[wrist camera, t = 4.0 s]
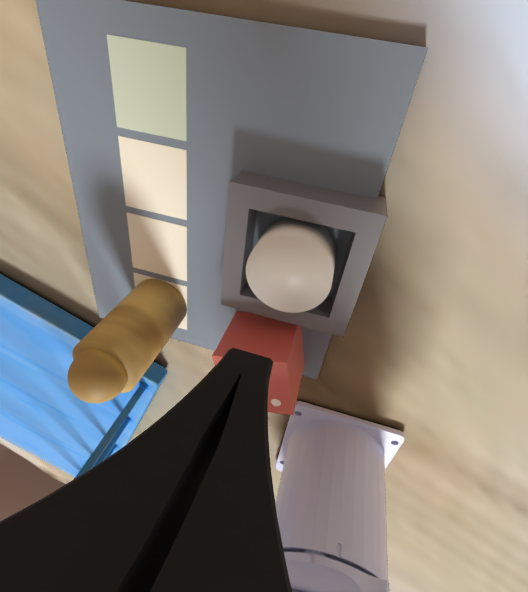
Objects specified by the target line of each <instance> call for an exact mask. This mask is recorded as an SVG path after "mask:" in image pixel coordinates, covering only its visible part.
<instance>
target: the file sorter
mask: <svg viewBox="0 0 528 592" xmlns="http://www.w3.org/2000/svg"><path fill="white" fill-rule="evenodd" d="M93 328H94V327H92V326H90V325H89V324H87V323H85V322H83V321H82V320H80V319H78V318H77V317H75V316H73V315H71V314H70V313H68V312H66V311H64V310H63V309H61V308H59V307H57V306H56V305H54V304H52V303H50V302H49V301H47V300H45V299H43V298H42V297H40V296H38V295H36V294H35V293H33V292H31V291H29V290H28V289H26V288H24V287H22V286H21V285H19V284H17V283H15V282H14V281H12V280H10V279H8V278H7V277H5V276H3V275H2V274H0V437H1V438H3V439H5V440H6V441H8V442H10V443H12V444H14V445H16V446H18V447H19V448H21V449H23V450H25V451H27V452H29V453H31V454H33V455H34V456H36V457H38V458H40V459H42V460H44V461H46V462H48V463H49V464H51V465H53V466H55V467H57V468H59V469H61V470H63V471H64V472H66V473H68V474H70V475H72V476H74V477H75V478H74V479H76V478H77V477H79V476H81V475H82V474H84V473H85V472H87V471H89V470H90V469H92V468H93V467H95V466H96V465H98V464H99V463H101V462H102V461H104V460H105V459H107V458H108V457H110V456H111V455H112V454H114V453H115V452H117V451H118V450H120V449H121V448H122V447H124V446H125V445H127V444H128V442H129V440H130V439H131V437H132V435H133V433H134V431H135V430H136V428H137V426H138V424H139V422H140V421H141V419H142V417H143V415H144V414H145V412H146V410H147V408H148V406H149V405H150V403H151V401H152V399H153V397H154V396H155V394H156V392H157V390H158V388H159V387H160V385H161V383H162V381H163V380H164V378H165V376H166V374H167V370H166V368H164V367H162V366H161V365H159V364H157V363H155V362H152V364H151V365H150V366H149V368H148V369H147V371H146V372H145V373H144V375H143V376H142V378H141V379H140V380H139V382H138V383H137V385H136V386H135V387H134V389H132V390H131V391H129V392H126V393H120V394H118V395H117V396H116V397H115V398H113V399H111V400H109V401H106V402H103V403H88V402H85V401H82V400H80V399H79V398H77V397H76V396H75V395H74V394H73V393H72V391H71V390H70V388H69V385H68V380H67V375H68V370H69V367H70V365H71V363H72V361H73V357H72V352H73V349H74V347H75V346H76V345H77V344H78V343H79V342H80V341H81V340H82V339H83V338H84V337H85V336H86V335H87V334H88V333H89V332H90V331H91V330H92V329H93ZM74 479H73V480H74Z"/></svg>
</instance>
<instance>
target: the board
mask: <svg viewBox="0 0 528 592" xmlns="http://www.w3.org/2000/svg"><path fill="white" fill-rule="evenodd" d="M36 4H37V9H38V14H39V19H40V24H41V29H42V34H43V39H44V44H45V49H46V54H47V59H48V64H49V69H50V74H51V79H52V84H53V89H54V94H55V99H56V104H57V109H58V114H59V119H60V124H61V129H62V134H63V139H64V144H65V149H66V154H67V159H68V164H69V169H70V174H71V179H72V184H73V189H74V194H75V199H76V204H77V209H78V214H79V219H80V224H81V229H82V234H83V239H84V244H85V249H86V254H87V259H88V264H89V269H90V274H91V279H92V284H93V289H94V294H95V299H96V304H97V309H98V314H99V318H104V317H105V316H107V315H108V314H109V313H110V312H111V311H112V310H113V309H114V308H115V307H116V306H117V305H118V304H119V303H120V302H121V301H122V300H123V299H124V298H125V297H126V296H127V295H128V294H129V293H130V292H131V291H132V290H133V289H134V288H135V287H136V286H137V285H138V284H139V283H141V282H142V281H144V280H146V279H160V280H163V281H165V282H167V283H169V284H171V285H172V286H174V287H175V288H176V289H177V290H178V291H179V292H180V293H181V295H182V296H183V298H184V300H185V302H186V305H187V313H186V316H185V318H184V319H183V321H182V322H181V323H180V325H179V326H178V328H177V329H176V330H175V332H174V333H173V334H172V336H171V337H170V338H173V339H176V340H180V341H183V342H187V343H190V344H194V345H197V346H201V347H204V348H208V349H211V350H214V351H215V350H216V348H217V346H218V344H219V342H220V341H221V339H222V337H223V335H224V333H225V331H226V329H227V327H228V326H229V324H230V322H231V320H232V318H233V316H234V314H235V313H236V311H242V310H239V309H235V308H231V307H228V306H224V305H221V291H222V277H223V263H224V249H225V234H226V220H227V206H228V191H229V181H230V180H231V179H233V178H234V177H235V176H236V175H237V174H238V173H240V172H241V171H246V172H251V173H255V174H260V175H265V176H269V177H274V178H279V179H283V180H288V181H293V182H297V183H302V184H307V185H311V186H316V187H321V188H325V189H330V190H335V191H339V192H344V193H349V194H353V195H358V196H363V197H367V198H372V199H378V196H379V193H380V190H381V187H382V184H383V181H384V178H385V175H386V172H387V169H388V166H389V163H390V160H391V157H392V154H393V151H394V148H395V145H396V142H397V139H398V136H399V133H400V130H401V127H402V124H403V121H404V118H405V115H406V112H407V109H408V106H409V103H410V100H411V97H412V94H413V91H414V88H415V85H416V82H417V79H418V76H419V73H420V70H421V67H422V64H423V61H424V58H425V55H426V52H427V49H428V47H421V46H415V45H408V44H402V43H396V42H389V41H383V40H376V39H370V38H363V37H357V36H350V35H344V34H337V33H331V32H325V31H318V30H312V29H305V28H299V27H292V26H286V25H279V24H273V23H266V22H260V21H254V20H247V19H241V18H234V17H228V16H221V15H215V14H208V13H202V12H195V11H189V10H183V9H176V8H170V7H163V6H157V5H150V4H144V3H137V2H131V1H125V0H36ZM283 217H284V216H280V215H275V214H271V213H267V212H262V211H257V219H256V227H255V235H254V243H253V249H254V247H255V245H256V244H257V242H258V241H259V239H260V237H261V236H262V234H263V233H264V231H265V230H266V228H267V227H268V226H269V225H270V224H272V223H273V222H274V221H276V220H278V219H281V218H283ZM322 226H324V225H322ZM324 227H325V228H326V229H327V230H328V231H329V233H330V234H331V236H332V237H333V239H334V242H335V245H336V249H337V259H336V264H335V270H334V275H333V281H332V286H331V289H330V292H329V294H328V296H327V297H329V298H333V295H334V292H335V288H336V285H337V282H338V279H339V276H340V272H341V269H342V266H343V263H344V259H345V256H346V253H347V250H348V246H349V243H350V240H351V237H352V234H353V232H350V231H346V230H341V229H337V228H332V227H328V226H324ZM242 312H246V311H242ZM301 327H302V326H301ZM331 336H332V334H328V333H324V332H321V331H317V330H313V329H310V328H306V327H302V339H303V351H304V363H305V365H304V369H303V374H302V376H305V377H309V378H312V379H316V380H317V378H318V375H319V372H320V369H321V366H322V363H323V360H324V357H325V354H326V351H327V348H328V345H329V342H330V339H331Z"/></svg>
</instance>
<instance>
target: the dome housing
mask: <svg viewBox="0 0 528 592" xmlns="http://www.w3.org/2000/svg"><path fill="white" fill-rule="evenodd" d="M257 211H262V212H267V213H271V214H275V215H280V216H284V217H289V218H293V219H297V220H302V221H306V222H311V223H315V224H319V225H324V226H328V227H332V228H337V229H341V230H346V231H350V232H353V234H352V237H351V240H350V243H349V246H348V250H347V253H346V256H345V259H344V263H343V266H342V269H341V272H340V276H339V279H338V282H337V285H336V288H335V292H334V295H333V298H329V297H326V299H325V300H324V301H323V302H322V303H321V304H320V305H318V306H317V307H315V308H313V309H311V310H308V311H304V312H298V313H289V312H283V311H279V310H276V309H274V308H271V307H269V306H268V305H266V304H265V303H263V302H262V301H261V300H260V299H258V298H257V296H256V295H255V294H254V293H253V291H252V290H251V288H250V286H249V284H248V281H247V278H246V264H247V260H248V257H249V255H250V254H251V252H252V250H253V243H254V235H255V227H256V219H257ZM386 219H387V205H386V197H383V196H378V199H372V198H367V197H363V196H358V195H353V194H349V193H344V192H339V191H335V190H330V189H325V188H321V187H316V186H311V185H307V184H302V183H297V182H293V181H288V180H283V179H279V178H274V177H269V176H265V175H260V174H255V173H251V172H246V171H241V172H240V173H238V174H237V175H236V176H235V177H234V178H233V179H231V180H230V181H229V191H228V206H227V220H226V234H225V249H224V263H223V277H222V291H221V305H224V306H228V307H231V308H235V309H239V310H242V311H246V312H250V313H254V314H257V315H261V316H265V317H269V318H272V319H276V320H280V321H283V322H287V323H291V324H295V325H298V326H302V327H306V328H310V329H313V330H317V331H321V332H324V333H328V334H332V335H336V336H339V337H344V334H345V332H346V329H347V326H348V323H349V321H350V318H351V315H352V312H353V310H354V307H355V304H356V301H357V299H358V296H359V293H360V291H361V288H362V285H363V282H364V280H365V277H366V274H367V271H368V269H369V266H370V263H371V260H372V258H373V255H374V252H375V249H376V247H377V244H378V241H379V238H380V236H381V233H382V230H383V227H384V225H385V222H386Z"/></svg>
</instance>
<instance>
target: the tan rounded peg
mask: <svg viewBox="0 0 528 592" xmlns="http://www.w3.org/2000/svg"><path fill="white" fill-rule="evenodd" d="M186 313H187V305H186V302H185V300H184V298H183V296H182V295H181V293H180V292H179V291H178V290H177V289H176V288H175V287H174V286H172V285H171V284H169V283H167V282H165V281H163V280H160V279H146V280H144V281H142V282H141V283H139V284H138V285H137V286H136V287H135V288H134V289H133V290H132V291H131V292H130V293H129V294H128V295H127V296H126V297H125V298H124V299H123V300H122V301H121V302H120V303H119V304H118V305H117V306H116V307H115V308H114V309H113V310H112V311H111V312H110V313H109V314H108V315H107V316H105V317H104V318H103V319H102V320H101V321H100V322H99V323H98V324H97V325H96V326H95V327H94V328H93V329H92V330H91V331H90V332H89V333H88V334H87V335H86V336H85V337H84V338H83V339H82V340H81V341H80V342H79V343H78V344H77V345H76V346H75V347H74V349H73V352H72V357H73V361H72V363H71V365H70V367H69V370H68V375H67V380H68V385H69V388H70V390H71V391H72V393H73V394H74V395H75V396H76V397H77V398H79V399H80V400H82V401H85V402H88V403H103V402H106V401H109V400H111V399H113V398H115V397H116V396H117V395H118V394H120V393H126V392H129V391H131V390H132V389H134V387H135V386H136V385H137V383H138V382H139V380H140V379H141V378H142V376H143V375H144V373H145V372H146V371H147V369H148V368H149V366H150V365H151V364H152V362H153V361H154V360H155V358H156V357H157V355H158V354H159V353H160V351H161V350H162V348H163V347H164V346H165V344H166V343H167V341H168V340H169V339H170V337H171V336H172V334H173V333H174V332H175V330H176V329H177V328H178V326H179V325H180V323H181V322H182V321H183V319H184V318H185V316H186Z"/></svg>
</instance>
